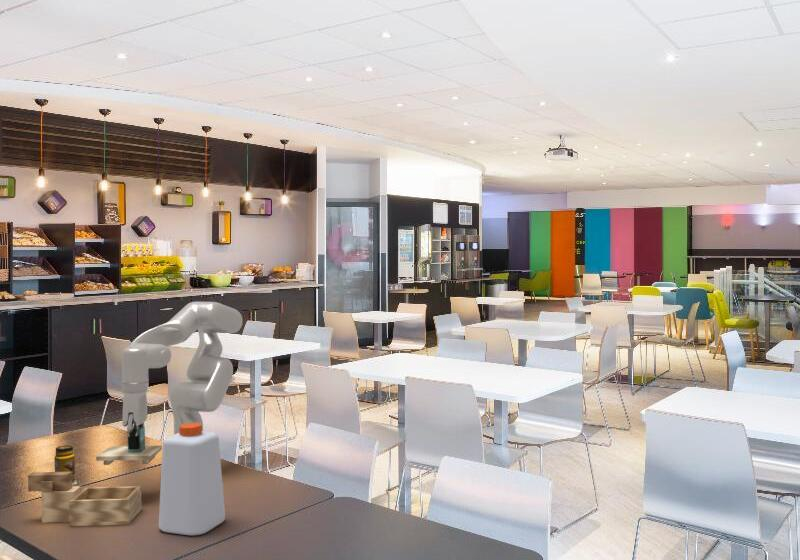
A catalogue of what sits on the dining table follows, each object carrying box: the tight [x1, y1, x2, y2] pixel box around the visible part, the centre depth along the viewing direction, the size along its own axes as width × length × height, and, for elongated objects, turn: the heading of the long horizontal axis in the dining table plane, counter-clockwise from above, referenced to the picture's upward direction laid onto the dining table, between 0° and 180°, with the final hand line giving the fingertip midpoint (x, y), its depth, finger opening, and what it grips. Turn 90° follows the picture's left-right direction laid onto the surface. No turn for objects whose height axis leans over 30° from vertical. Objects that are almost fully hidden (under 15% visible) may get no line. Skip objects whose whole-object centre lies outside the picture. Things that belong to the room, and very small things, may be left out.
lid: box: [95, 426, 163, 466], centre depth 226 cm, size 16×12×10 cm
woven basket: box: [40, 481, 142, 527], centre depth 210 cm, size 25×12×12 cm, turn 93°
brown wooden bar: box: [27, 471, 73, 492], centre depth 209 cm, size 11×3×4 cm, turn 93°
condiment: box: [54, 445, 78, 486], centre depth 243 cm, size 7×8×12 cm
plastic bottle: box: [158, 423, 226, 537], centre depth 203 cm, size 15×15×28 cm
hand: (136, 446), depth 226 cm, fingers closed on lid, 4 cm apart
